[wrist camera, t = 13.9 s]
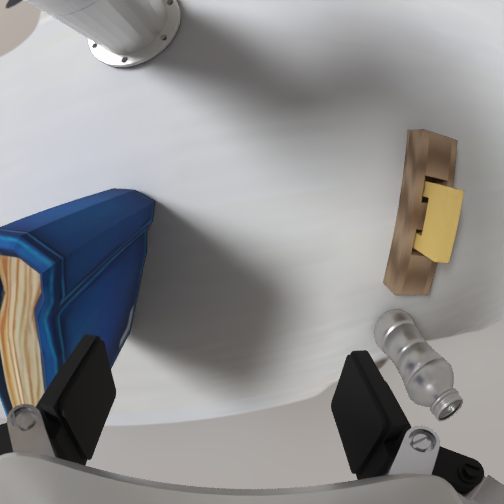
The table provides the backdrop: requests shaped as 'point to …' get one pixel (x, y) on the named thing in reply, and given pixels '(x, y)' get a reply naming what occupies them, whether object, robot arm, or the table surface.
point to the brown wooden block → (417, 210)
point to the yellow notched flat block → (439, 222)
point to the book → (68, 285)
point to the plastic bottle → (418, 364)
